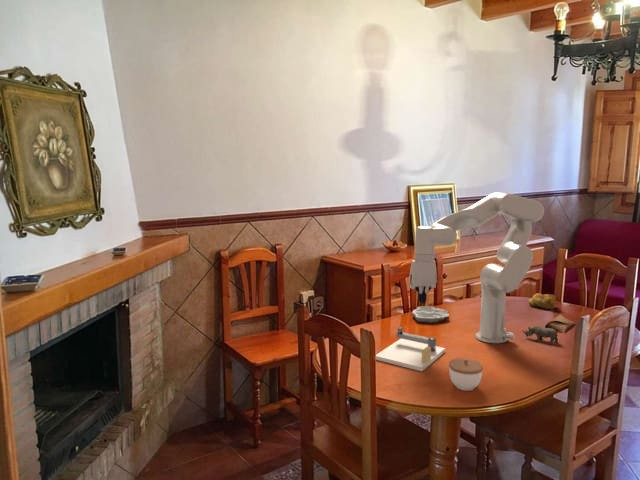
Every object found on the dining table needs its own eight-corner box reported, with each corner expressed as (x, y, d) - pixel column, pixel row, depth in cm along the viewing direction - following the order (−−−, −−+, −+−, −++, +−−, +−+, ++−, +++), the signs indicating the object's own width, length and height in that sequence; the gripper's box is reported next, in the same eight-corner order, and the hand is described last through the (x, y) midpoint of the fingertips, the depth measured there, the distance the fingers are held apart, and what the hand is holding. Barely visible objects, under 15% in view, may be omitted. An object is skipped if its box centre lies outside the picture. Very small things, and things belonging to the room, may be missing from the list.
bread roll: (526, 307, 254) (527, 291, 253) (531, 302, 262) (532, 287, 260) (553, 311, 246) (554, 295, 245) (557, 307, 254) (559, 291, 253)
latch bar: (436, 349, 194) (437, 334, 193) (433, 351, 192) (434, 336, 191) (399, 340, 203) (399, 326, 202) (395, 343, 201) (396, 328, 200)
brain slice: (450, 326, 227) (450, 319, 226) (411, 323, 230) (412, 317, 230) (448, 313, 246) (448, 307, 245) (412, 311, 249) (413, 305, 249)
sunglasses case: (565, 334, 215) (558, 319, 216) (550, 338, 219) (542, 324, 221) (576, 323, 228) (569, 309, 230) (562, 328, 233) (555, 314, 234)
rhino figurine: (523, 335, 213) (524, 322, 212) (558, 342, 206) (559, 328, 205) (521, 338, 210) (521, 324, 209) (556, 345, 202) (557, 331, 201)
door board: (445, 351, 196) (445, 337, 195) (422, 371, 178) (422, 355, 177) (400, 341, 207) (401, 328, 206) (374, 359, 189) (375, 344, 188)
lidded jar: (476, 396, 159) (478, 368, 158) (443, 388, 165) (444, 361, 163) (485, 384, 168) (486, 357, 167) (453, 376, 174) (454, 351, 172)
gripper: (438, 255, 203) (435, 299, 206) (402, 256, 200) (401, 300, 203) (446, 259, 195) (443, 304, 198) (409, 259, 193) (407, 306, 196)
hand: (422, 302), depth 201 cm, fingers closed
